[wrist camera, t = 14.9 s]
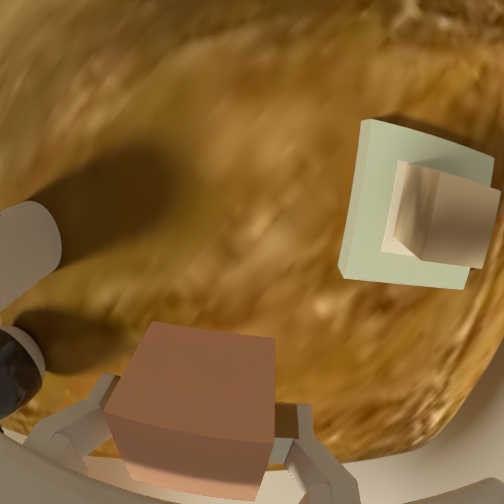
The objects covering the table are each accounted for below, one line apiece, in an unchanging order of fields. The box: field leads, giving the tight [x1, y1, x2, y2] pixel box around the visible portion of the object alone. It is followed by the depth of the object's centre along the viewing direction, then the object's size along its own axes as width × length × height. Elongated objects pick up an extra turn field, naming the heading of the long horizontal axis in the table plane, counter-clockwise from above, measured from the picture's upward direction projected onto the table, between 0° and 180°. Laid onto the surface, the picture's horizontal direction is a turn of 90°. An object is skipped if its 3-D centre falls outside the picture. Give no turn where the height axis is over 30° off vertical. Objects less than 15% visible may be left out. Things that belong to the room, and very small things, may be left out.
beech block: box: [393, 164, 501, 269], centre depth 18 cm, size 6×6×5 cm
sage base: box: [338, 119, 495, 290], centre depth 22 cm, size 12×12×3 cm
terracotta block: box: [103, 321, 275, 501], centre depth 9 cm, size 4×4×4 cm
